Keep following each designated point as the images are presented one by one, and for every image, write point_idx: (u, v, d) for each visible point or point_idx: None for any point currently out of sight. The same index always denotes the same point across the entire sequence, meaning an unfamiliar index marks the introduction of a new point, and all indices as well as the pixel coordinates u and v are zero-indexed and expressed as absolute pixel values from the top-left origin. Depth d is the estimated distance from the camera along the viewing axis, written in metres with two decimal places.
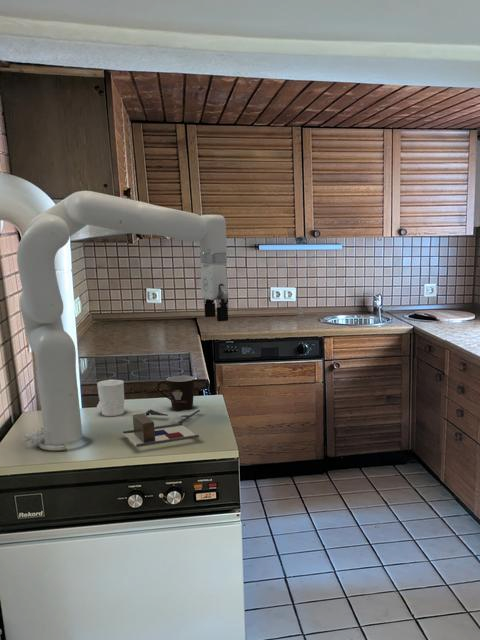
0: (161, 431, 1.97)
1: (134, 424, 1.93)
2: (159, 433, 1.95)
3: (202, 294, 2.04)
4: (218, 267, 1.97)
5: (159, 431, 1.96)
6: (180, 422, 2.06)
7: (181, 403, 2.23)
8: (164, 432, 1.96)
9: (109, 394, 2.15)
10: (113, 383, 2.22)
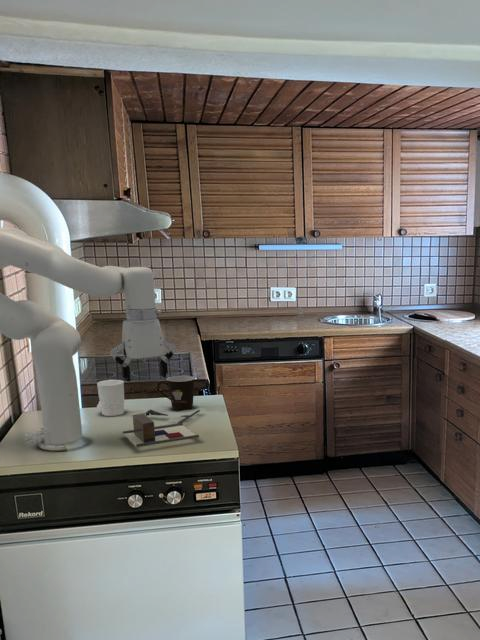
0: (161, 431, 1.97)
1: (134, 424, 1.93)
2: (159, 433, 1.95)
3: None
4: (123, 323, 1.82)
5: (159, 431, 1.96)
6: (180, 422, 2.06)
7: (181, 403, 2.23)
8: (164, 432, 1.96)
9: (109, 394, 2.15)
10: (113, 383, 2.22)
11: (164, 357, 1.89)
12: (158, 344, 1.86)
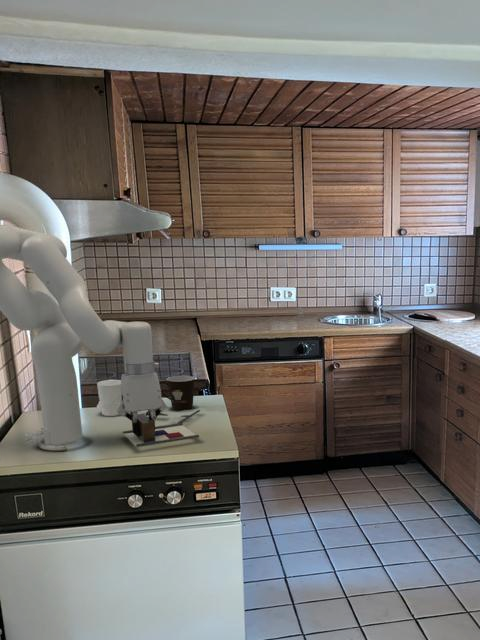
0: (161, 431, 1.97)
1: None
2: (159, 433, 1.95)
3: None
4: (122, 377, 1.85)
5: (159, 431, 1.96)
6: (180, 422, 2.06)
7: (181, 403, 2.23)
8: (164, 432, 1.96)
9: (109, 394, 2.15)
10: (113, 383, 2.22)
11: (151, 415, 1.90)
12: (156, 397, 1.89)
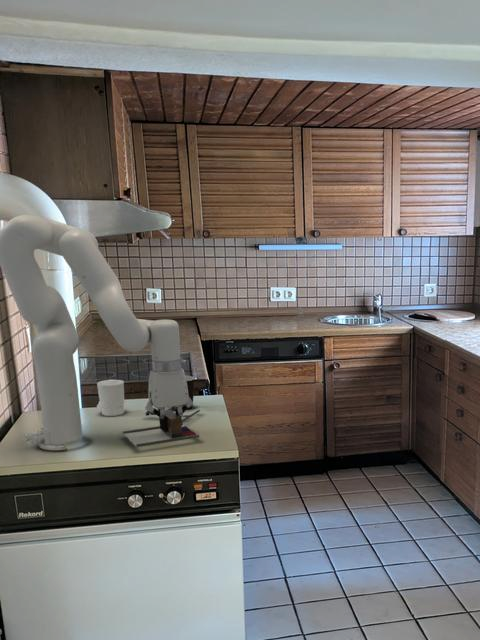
0: (184, 427, 2.00)
1: None
2: (182, 430, 1.98)
3: None
4: (150, 374, 1.89)
5: (182, 428, 2.00)
6: None
7: None
8: (187, 429, 1.99)
9: (109, 394, 2.15)
10: (113, 383, 2.22)
11: (178, 411, 1.94)
12: (183, 393, 1.92)
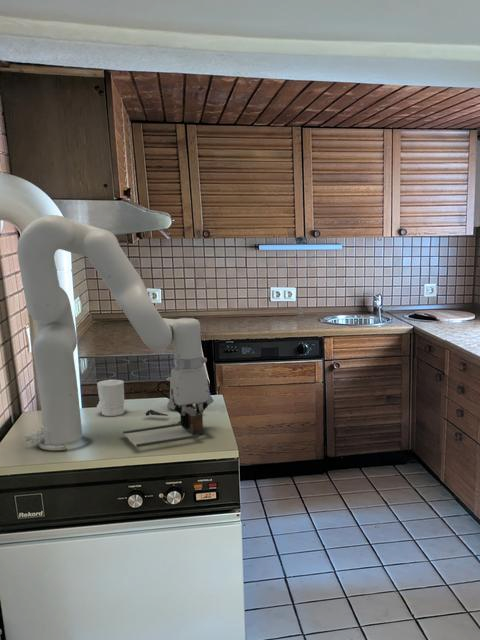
0: None
1: None
2: None
3: None
4: (172, 371, 1.92)
5: None
6: (180, 422, 2.06)
7: None
8: None
9: (109, 394, 2.15)
10: (113, 383, 2.22)
11: (199, 408, 1.97)
12: (204, 391, 1.95)
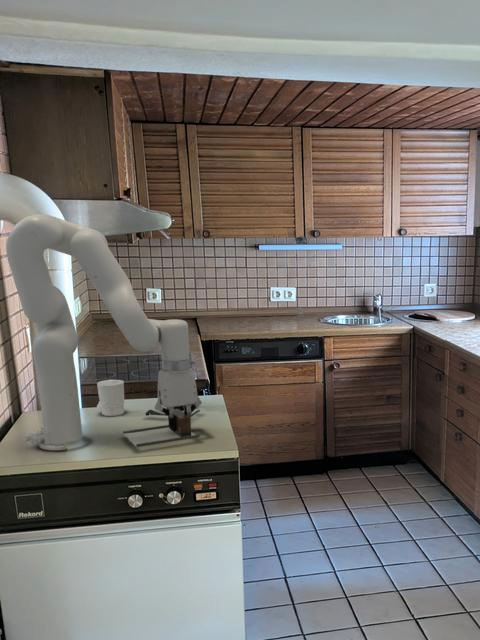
0: None
1: None
2: None
3: None
4: (159, 373, 1.90)
5: None
6: None
7: None
8: None
9: (109, 394, 2.15)
10: (113, 383, 2.22)
11: (187, 410, 1.95)
12: (192, 392, 1.94)
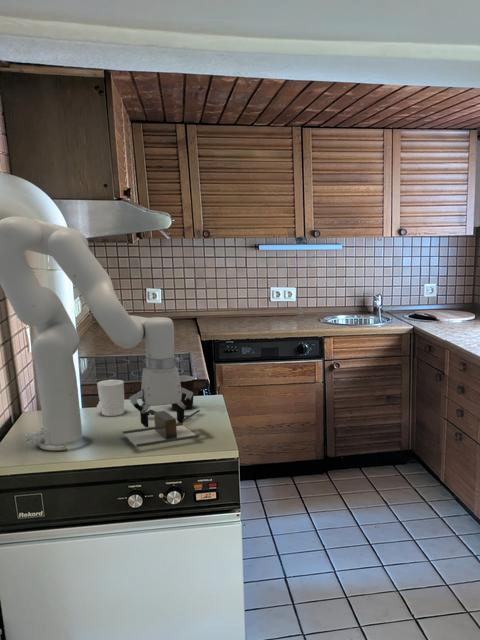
0: None
1: (155, 421, 1.96)
2: None
3: None
4: (143, 371, 1.88)
5: None
6: None
7: None
8: None
9: (109, 394, 2.15)
10: (113, 383, 2.22)
11: (181, 404, 1.94)
12: (176, 391, 1.91)
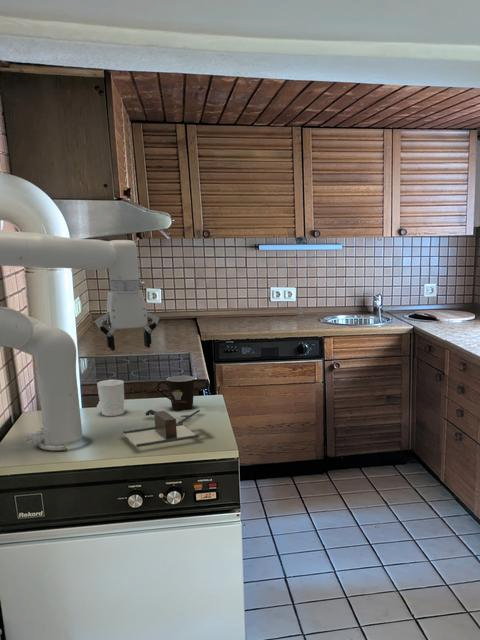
0: None
1: (155, 421, 1.96)
2: None
3: None
4: (108, 294, 1.90)
5: None
6: (180, 422, 2.06)
7: (181, 403, 2.23)
8: None
9: (109, 394, 2.15)
10: (113, 383, 2.22)
11: (148, 328, 1.96)
12: (142, 315, 1.93)
